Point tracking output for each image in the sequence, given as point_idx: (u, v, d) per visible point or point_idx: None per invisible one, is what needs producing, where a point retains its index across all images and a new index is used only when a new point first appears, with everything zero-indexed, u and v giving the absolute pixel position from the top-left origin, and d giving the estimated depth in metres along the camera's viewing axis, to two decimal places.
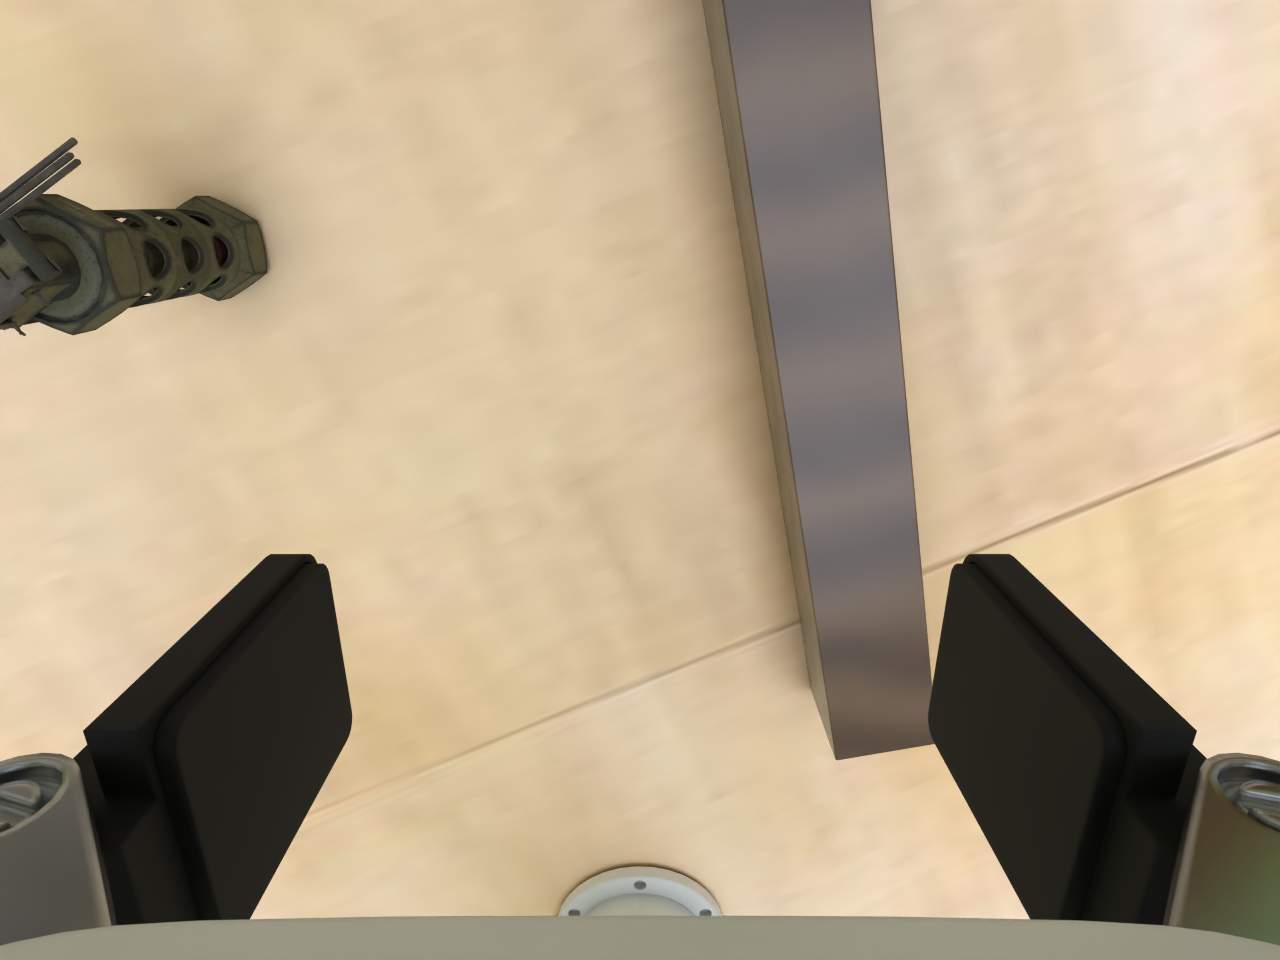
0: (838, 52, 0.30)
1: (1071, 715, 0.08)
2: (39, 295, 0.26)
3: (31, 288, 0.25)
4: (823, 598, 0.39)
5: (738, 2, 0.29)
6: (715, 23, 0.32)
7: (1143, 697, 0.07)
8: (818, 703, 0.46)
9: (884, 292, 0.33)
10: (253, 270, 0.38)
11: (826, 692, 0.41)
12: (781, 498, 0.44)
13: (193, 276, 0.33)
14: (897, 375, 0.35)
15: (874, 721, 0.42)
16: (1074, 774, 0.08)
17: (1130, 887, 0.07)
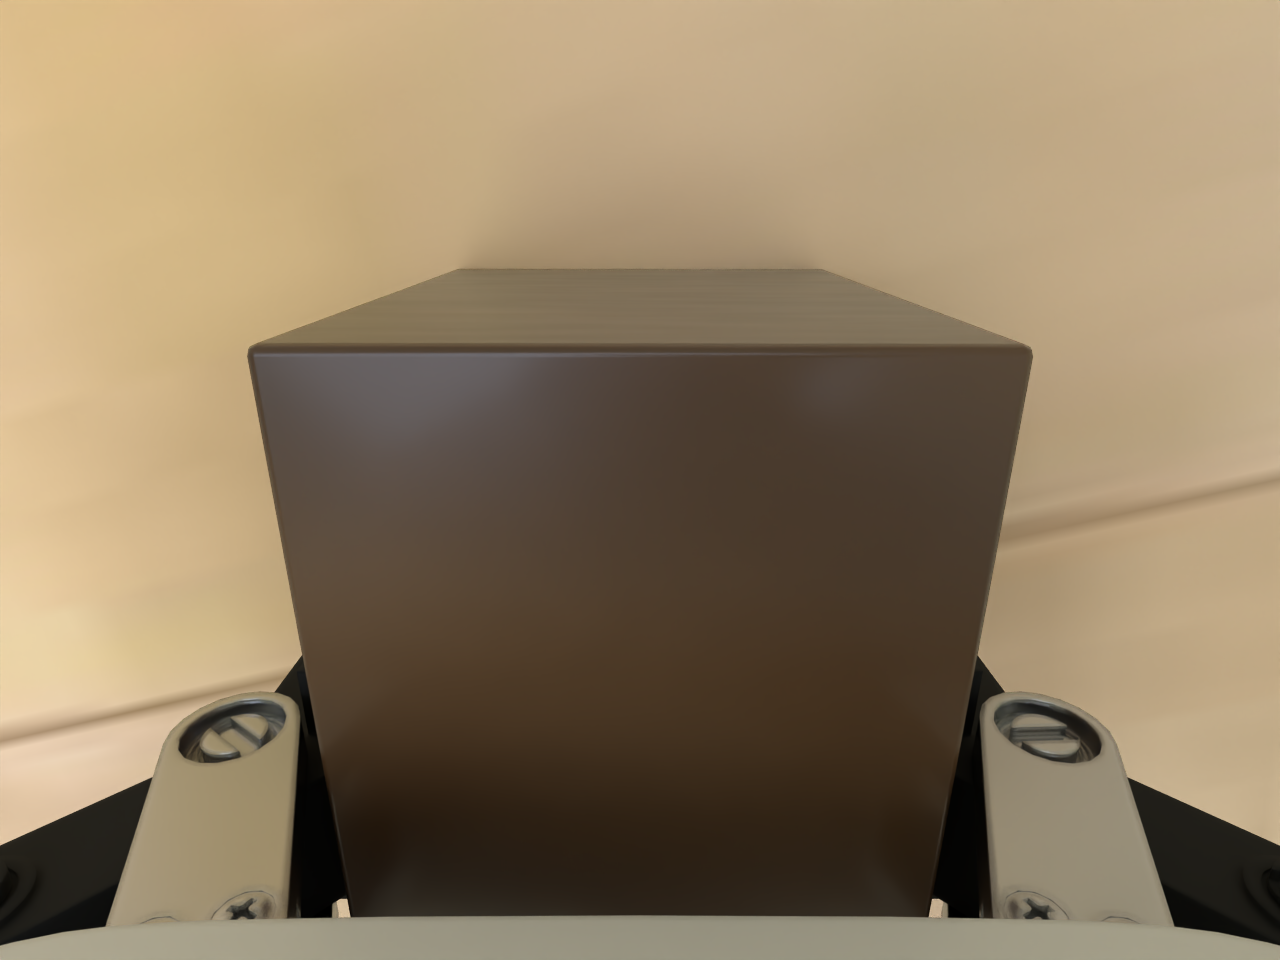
0: None
1: None
2: None
3: None
4: None
5: None
6: None
7: None
8: None
9: None
10: None
11: (938, 845, 0.07)
12: None
13: None
14: None
15: (691, 618, 0.06)
16: None
17: None
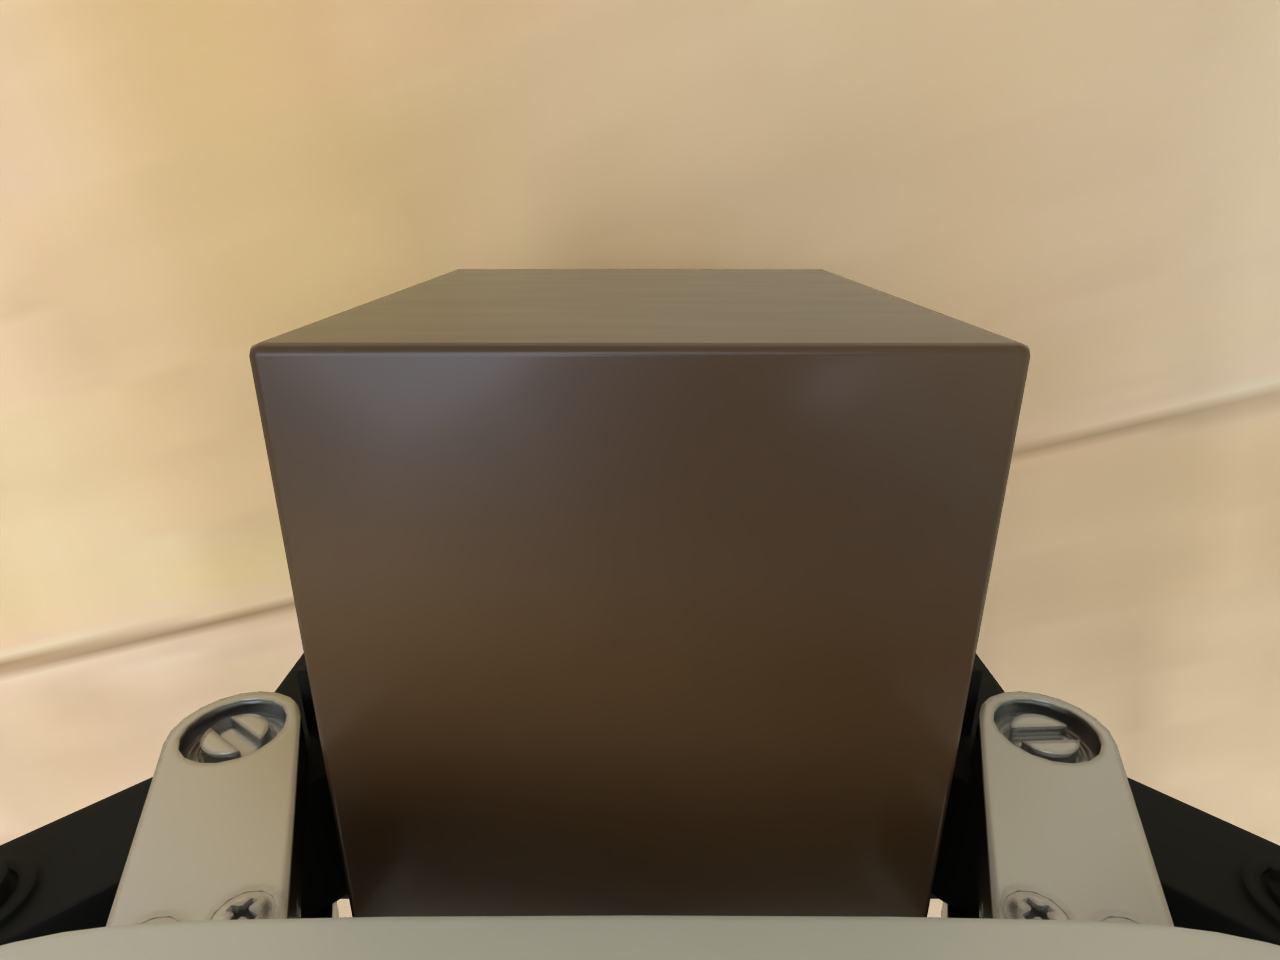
0: None
1: None
2: None
3: None
4: None
5: None
6: None
7: None
8: None
9: None
10: None
11: (937, 842, 0.07)
12: None
13: None
14: None
15: (692, 616, 0.06)
16: None
17: None
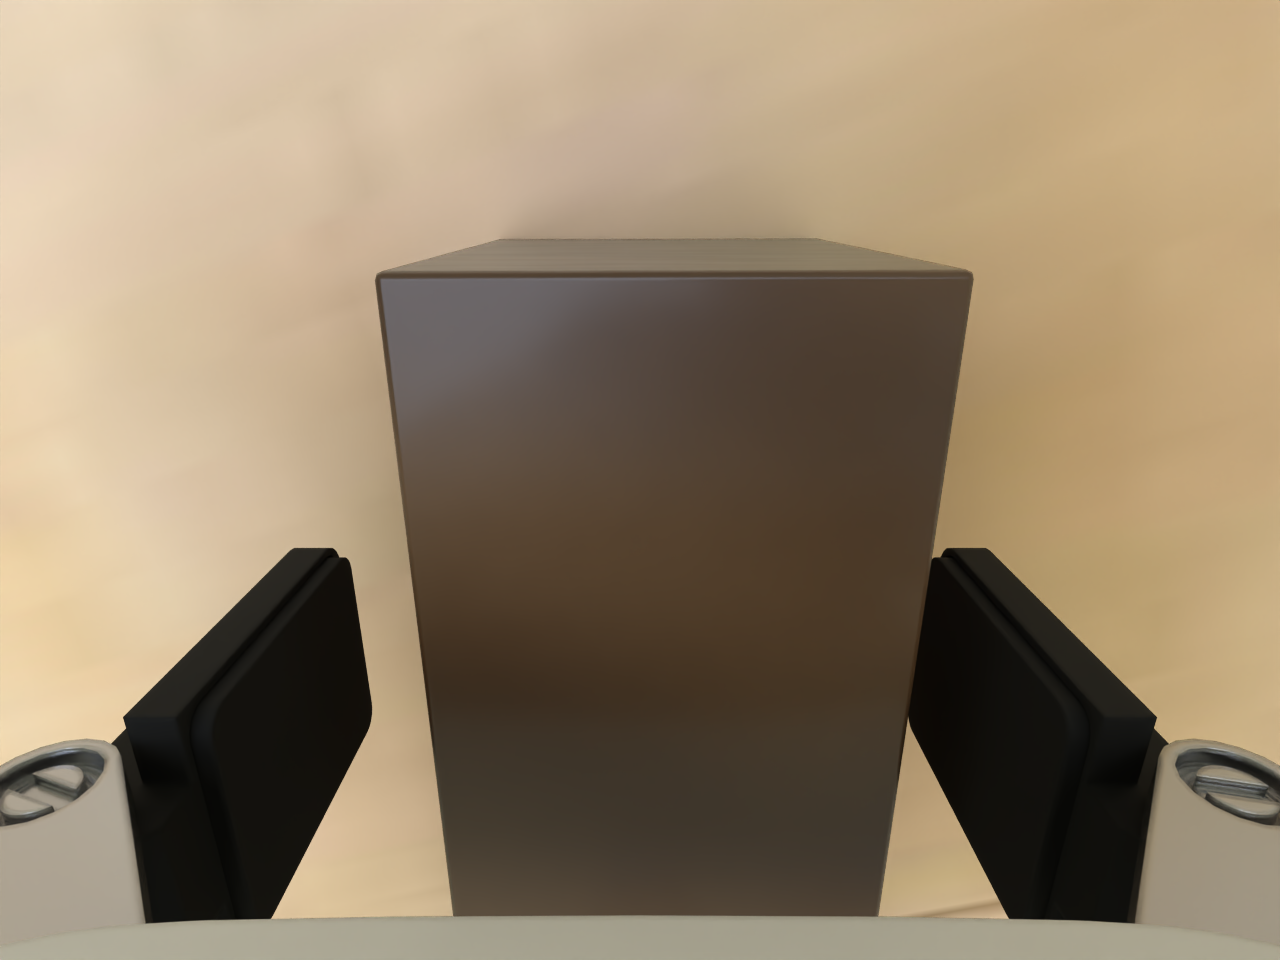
0: None
1: (1038, 703, 0.08)
2: None
3: None
4: None
5: None
6: None
7: (1107, 685, 0.08)
8: None
9: None
10: None
11: (909, 687, 0.09)
12: None
13: None
14: None
15: (712, 492, 0.08)
16: (1041, 761, 0.08)
17: (1093, 870, 0.07)
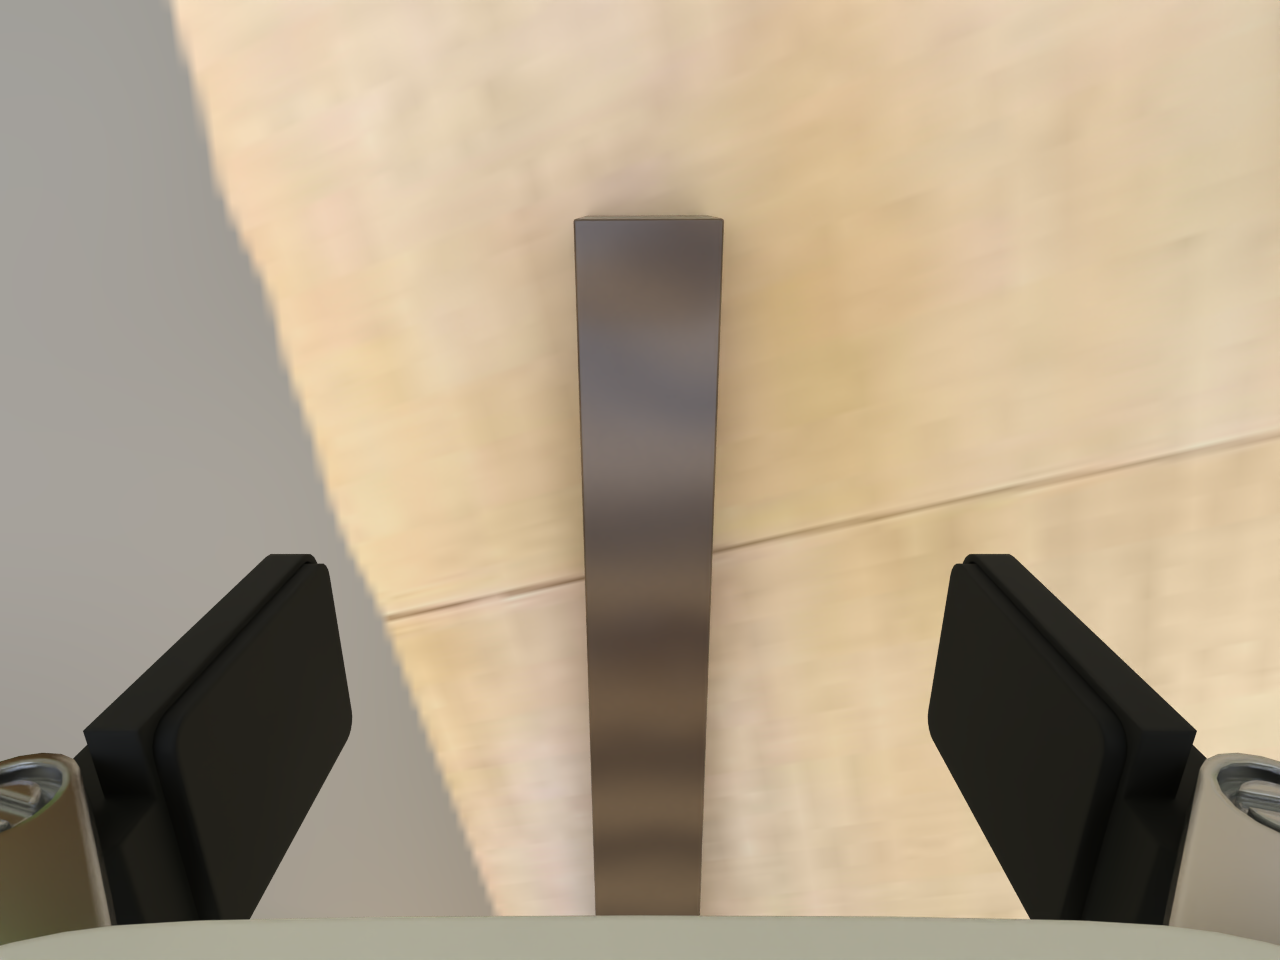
0: (622, 902, 0.41)
1: (1071, 715, 0.08)
2: None
3: None
4: (701, 479, 0.32)
5: None
6: None
7: (1143, 697, 0.07)
8: None
9: (601, 757, 0.38)
10: None
11: (718, 342, 0.30)
12: None
13: None
14: (595, 693, 0.36)
15: (659, 279, 0.29)
16: (1074, 774, 0.08)
17: (1130, 887, 0.07)
